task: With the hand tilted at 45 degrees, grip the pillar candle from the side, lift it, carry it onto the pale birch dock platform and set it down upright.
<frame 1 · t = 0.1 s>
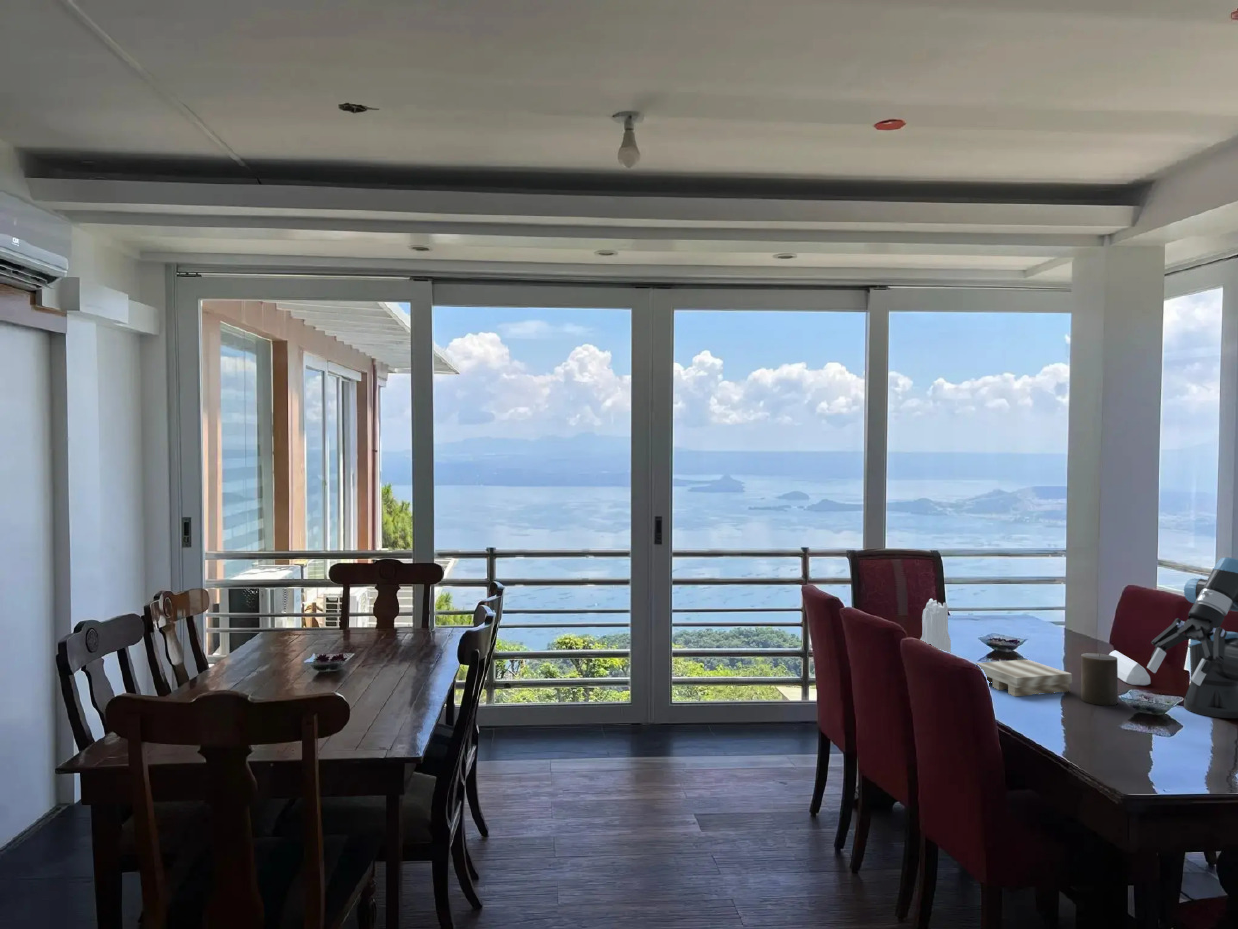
hand: (1172, 676, 222), 15 cm above the table, tool tilted 35°, fingers open, 13 cm apart
white octagonal bar: (1126, 678, 281), on the table
decorative vase: (935, 672, 291), on the table
pillar candle: (1099, 702, 253), on the table
birch dock: (1022, 686, 270), on the table
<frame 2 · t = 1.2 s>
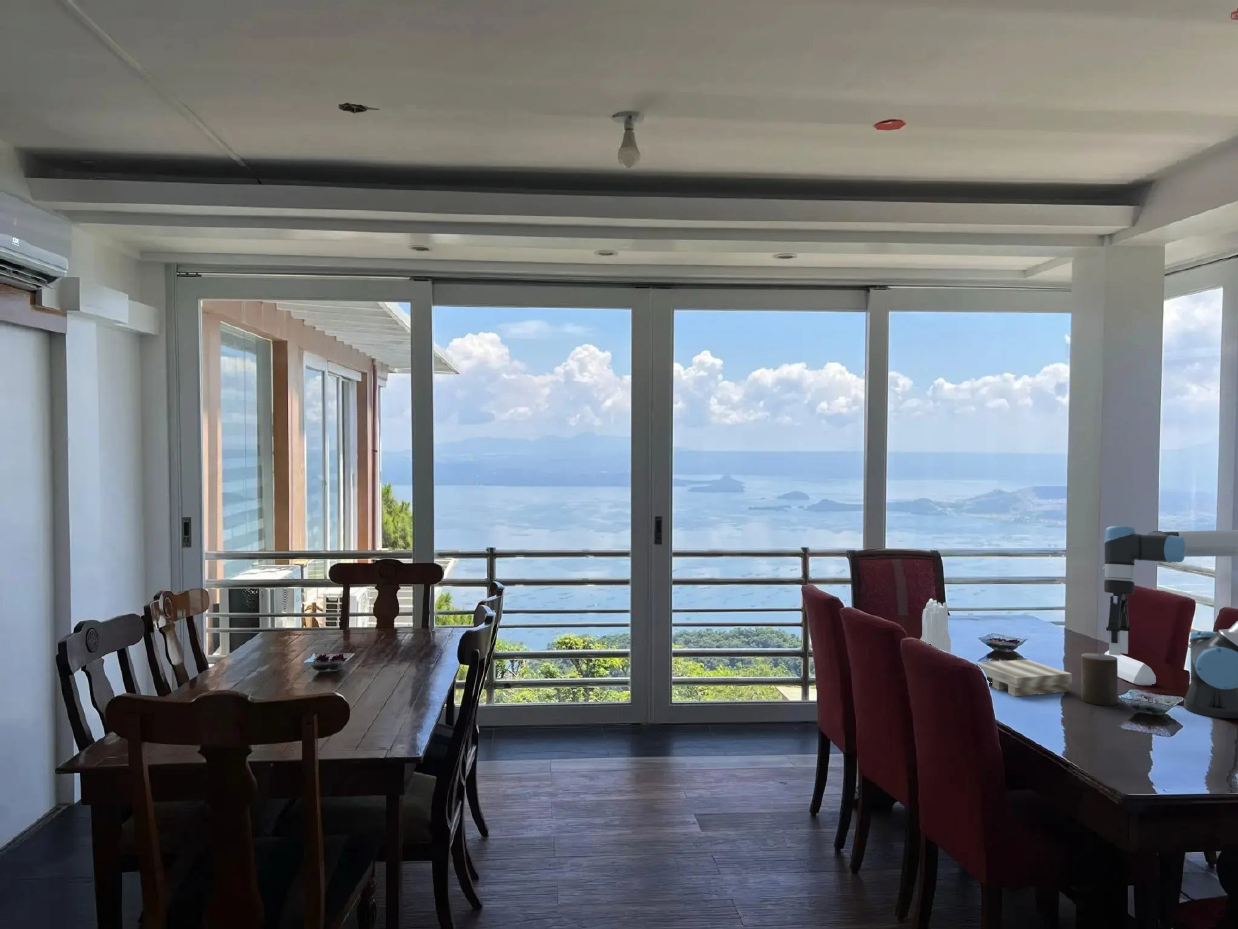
hand: (1118, 654, 239), 18 cm above the table, tool pointing down, fingers open, 13 cm apart
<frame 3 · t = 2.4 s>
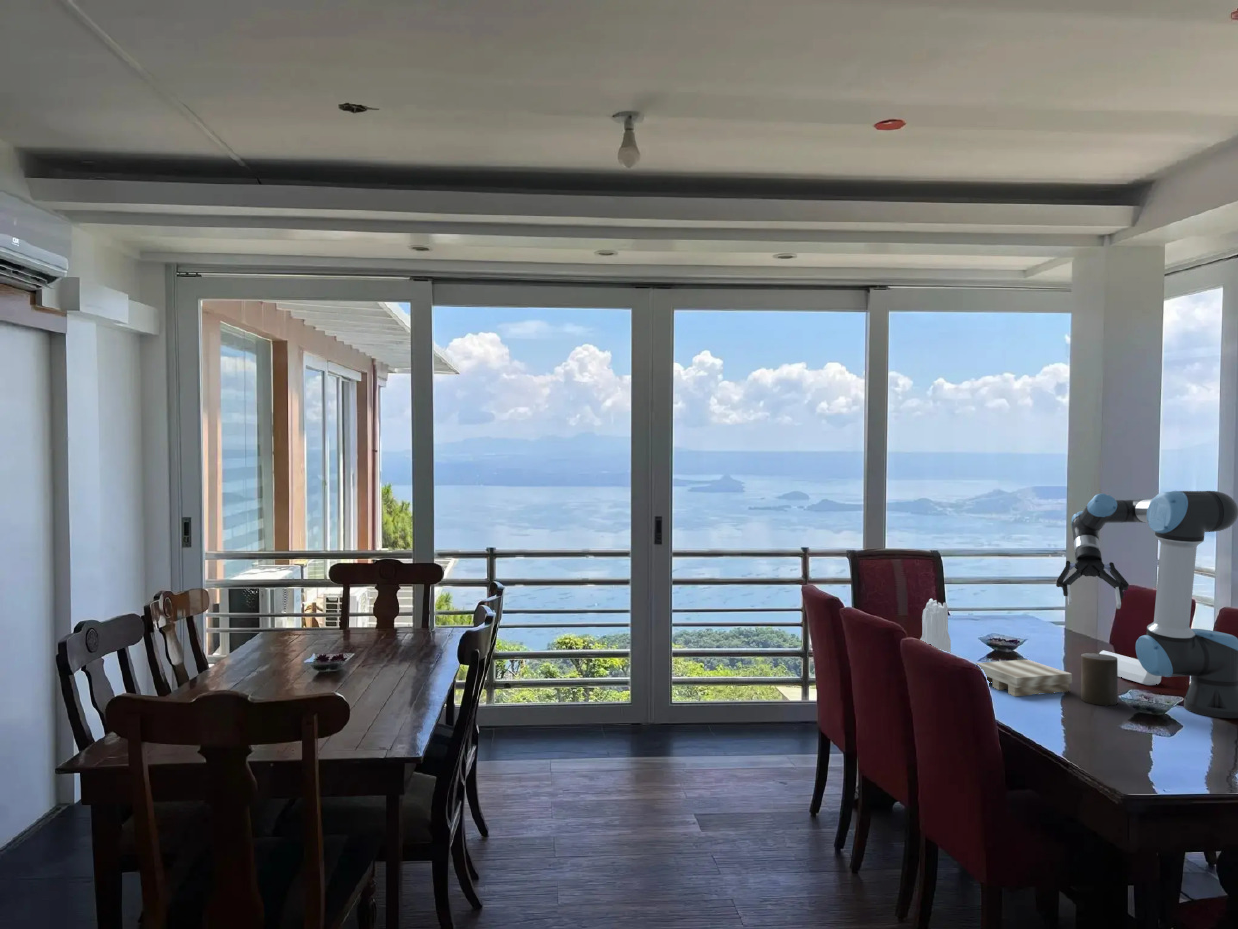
hand: (1094, 605, 262), 28 cm above the table, tool tilted 45°, fingers open, 13 cm apart
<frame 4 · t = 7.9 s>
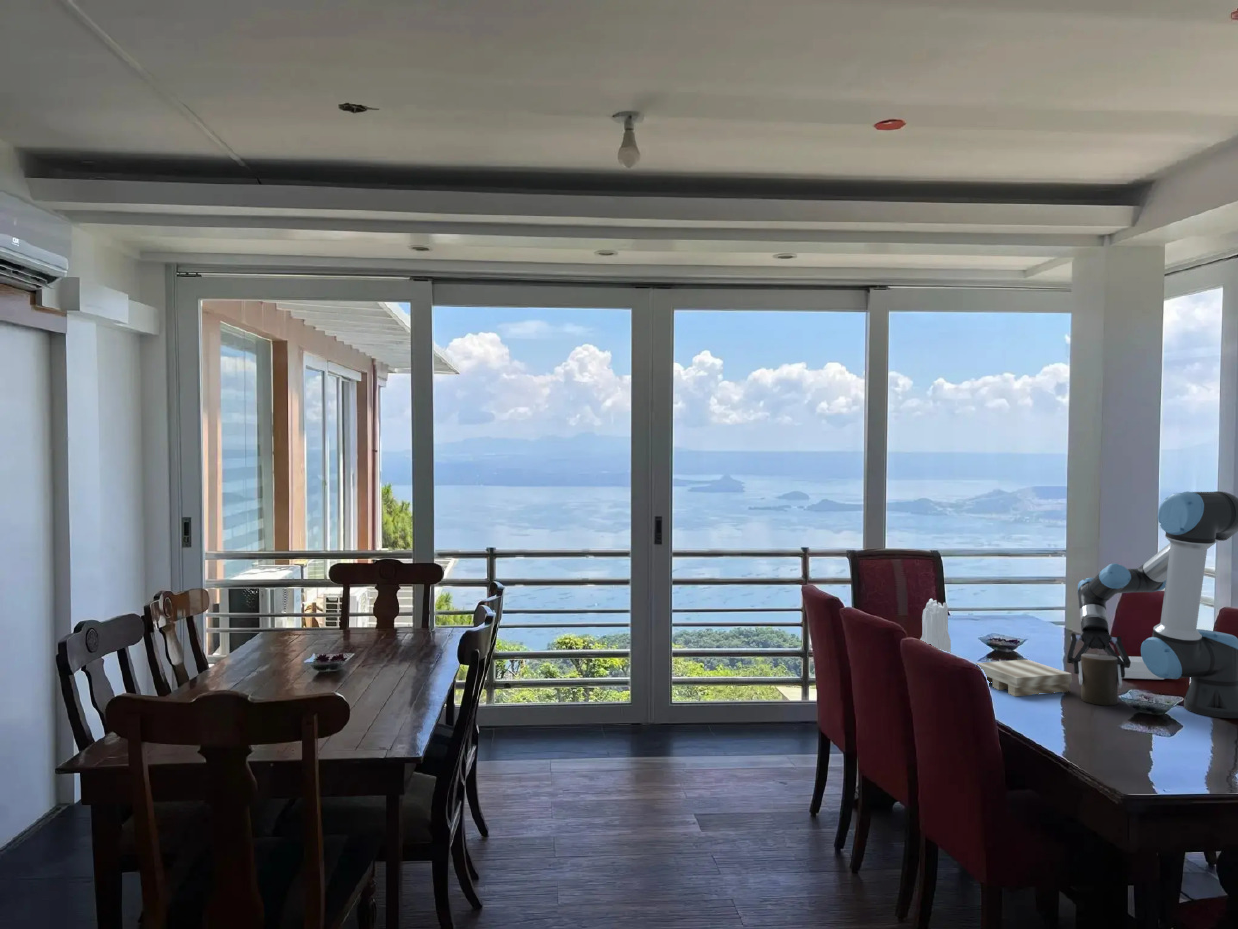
hand: (1100, 684, 250), 6 cm above the table, tool tilted 45°, fingers closed on pillar candle, 10 cm apart
pillar candle: (1099, 702, 253), on the table, touching gripper
when the fingers open (13 cm above the table, at t = 15.5 s): pillar candle drops 1 cm, resting on birch dock.
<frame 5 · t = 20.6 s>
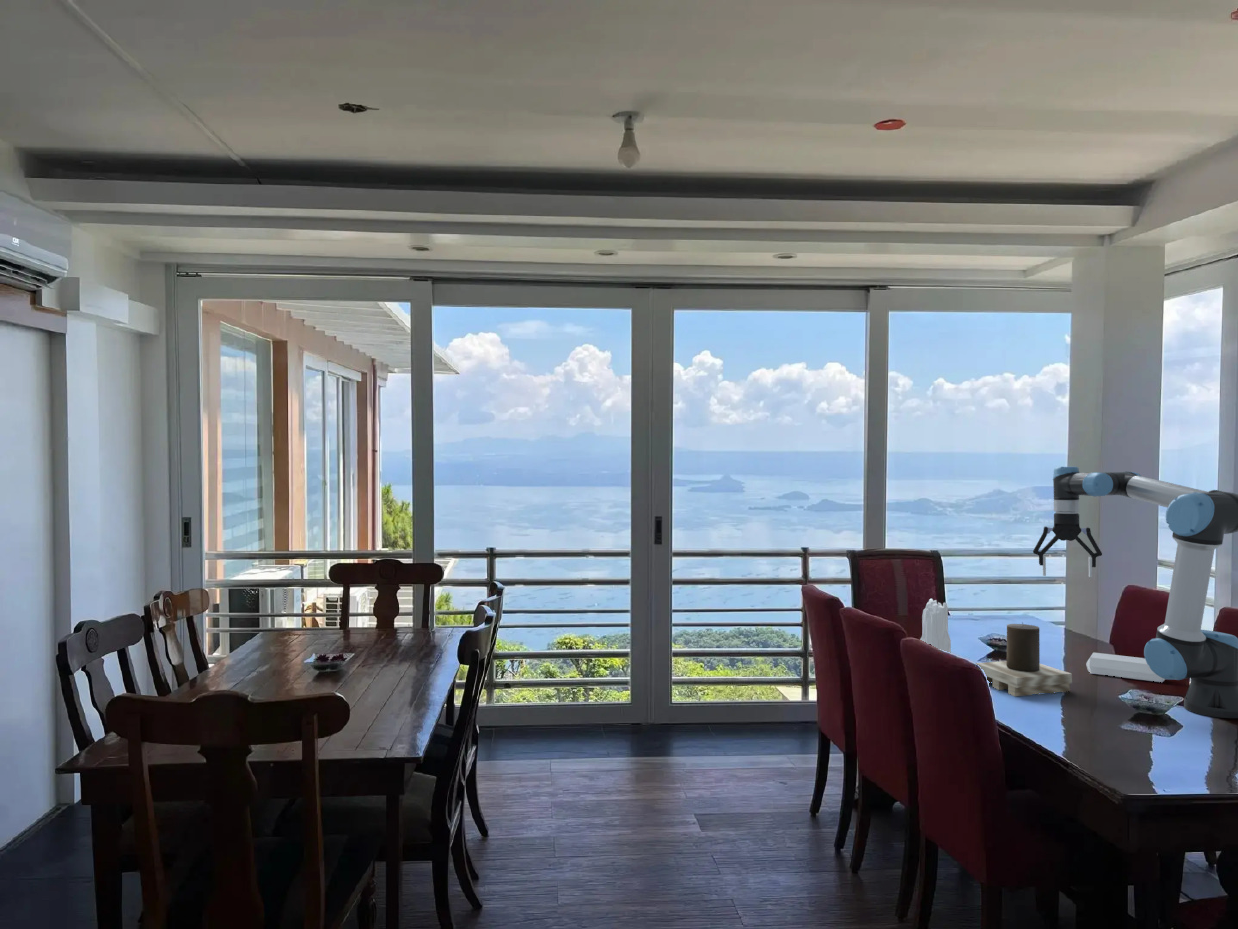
hand: (1067, 576, 278), 35 cm above the table, tool pointing down, fingers open, 13 cm apart
pillar candle: (1023, 669, 270), point 6 cm above the table, touching birch dock
at the end: pillar candle inside the target area on the birch dock (0.3 cm from its centre), point 5.8 cm above the birch dock's base; pillar candle tilted 0°; the gripper is holding nothing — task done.
